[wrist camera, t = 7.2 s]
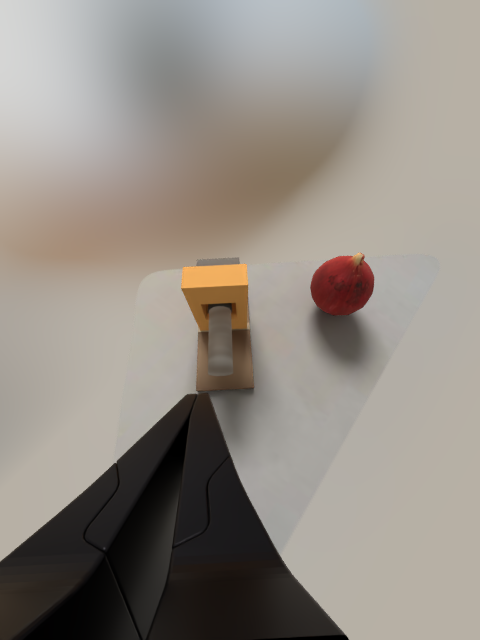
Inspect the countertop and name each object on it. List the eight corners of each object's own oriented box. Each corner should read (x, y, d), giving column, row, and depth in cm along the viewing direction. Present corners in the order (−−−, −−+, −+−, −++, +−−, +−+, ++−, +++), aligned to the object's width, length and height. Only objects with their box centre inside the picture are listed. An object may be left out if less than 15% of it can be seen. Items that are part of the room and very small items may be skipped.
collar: (246, 328, 24) (248, 284, 16) (200, 330, 24) (181, 288, 16) (245, 312, 25) (246, 263, 17) (201, 314, 25) (183, 267, 17)
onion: (359, 326, 25) (406, 284, 17) (307, 328, 25) (333, 286, 17) (346, 283, 27) (383, 231, 20) (300, 285, 27) (319, 233, 20)
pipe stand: (253, 388, 22) (257, 373, 16) (197, 391, 22) (180, 377, 16) (246, 294, 27) (247, 257, 21) (200, 296, 27) (188, 260, 21)
